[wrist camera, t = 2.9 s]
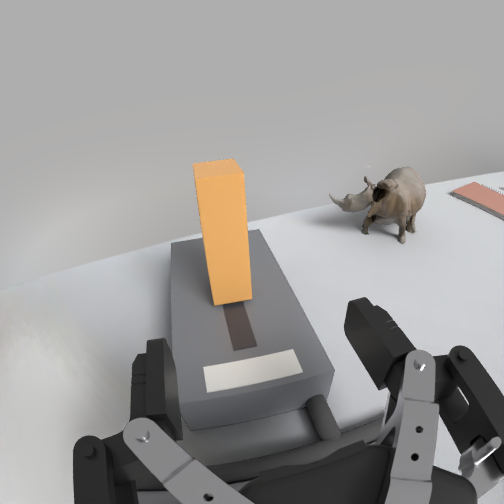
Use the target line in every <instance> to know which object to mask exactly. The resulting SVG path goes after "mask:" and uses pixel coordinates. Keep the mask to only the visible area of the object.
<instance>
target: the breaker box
mask: <svg viewBox="0 0 504 504" xmlns="http://www.w3.org/2000/svg"><path fill="white" fill-rule="evenodd" d="M248 242H249V257H250V272H251V287H252V299H249V300H244V301H238V302H233V303H227V304H221V305H215V306H214V302H213V296H212V291H211V286H210V280H209V275H208V269H207V262H206V256H205V250H204V243H203V238H199V239H193V240H187V241H181V242H175V243H171V331H172V355H173V359H174V362H175V366H176V372H177V384H178V396H179V407H180V413H181V415H182V417H183V419H184V420H185V422H186V424H187V426H188V428H189V430H198V429H205V428H212V427H218V426H224V425H230V424H235V423H240V422H246V421H250V420H255V419H260V418H264V417H269V416H273V415H277V414H281V413H285V412H289V411H293V410H297V409H300V408H304V407H307V406H306V401H307V400H308V399H309V398H311V397H313V396H315V395H319V394H321V395H324V397H325V399H326V401H327V397H328V394H329V390H330V387H331V383H332V379H333V376H334V372H335V369H334V367H333V365H332V364H331V362H330V360H329V358H328V356H327V354H326V352H325V350H324V348H323V346H322V345H321V343H320V341H319V339H318V337H317V335H316V333H315V331H314V329H313V328H312V326H311V324H310V322H309V320H308V318H307V316H306V314H305V313H304V311H303V309H302V307H301V305H300V303H299V301H298V299H297V298H296V296H295V294H294V292H293V290H292V288H291V286H290V285H289V283H288V281H287V279H286V277H285V275H284V274H283V272H282V270H281V268H280V266H279V264H278V263H277V261H276V259H275V257H274V255H273V253H272V252H271V250H270V248H269V246H268V244H267V242H266V241H265V239H264V237H263V235H262V233H261V232H260V230H259V229H257V230H251V231H248Z"/></svg>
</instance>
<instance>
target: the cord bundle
mask: <svg viewBox="0 0 504 504" xmlns="http://www.w3.org/2000/svg"><path fill="white" fill-rule="evenodd" d="M306 406H307V408H308V411H309V413H310V416H311V418H312V421H313V423H314V425H315V428H316V430H317V433H318V435H319V437H320V440H321V441H319V442H315V443H312V444H309V445H306V446H302V447H299V448H295V449H291V450H288V451H284V452H280V453H276V454H272V455H267V456H263V457H258V458H254V459H249V460H244V461H238V462H233V463H227V464H220V465H213V466H206V468H207V469H209V470H210V471H211V472H212V473H213V474H215V475H216V476H217V477H219V478H220V479H221V480H222V481H224V482H225V483H226V484H228V485H229V486H230V487H232V488H233V489H234V490H236V491H237V492H238V491H239V490H240V489H241V488H242V487H243V486H245V485H246V484H247V483H248V482H250V481H252V480H251V479H255V478H257V477H259V472H260V471H264V470H269V469H273V468H277V467H281V466H285V465H301V464H314V463H317V462H319V461H320V460H322V459H324V458H325V457H327V456H329V455H330V454H332V453H333V452H335V451H336V450H338V449H340V448H342V447H345V446H348V445H350V444H353V443H355V442H358V441H360V440H363V441H364V443H365V445H366V444H369V443H370V444H375V443H376V440H377V437H378V435H379V433H380V430H381V427H382V423H383V418H384V417H383V418H380V419H378V420H376V421H373V422H371V423H368V424H366V425H363V426H361V427H358V428H356V429H353V430H351V431H348V432H345V433H342V434H341V432H340V430H339V428H338V425H337V423H336V421H335V419H334V417H333V415H332V412H331V410H330V408H329V406H328V404H327V402H326V399H325V397H324V395H321V394H319V395H315V396H313V397H311V398H309V399H308V400H307V401H306ZM373 441H375V442H373ZM371 442H373V443H371ZM246 480H250V481H246ZM240 481H245V482H240ZM235 482H239V483H235ZM229 483H233V484H229ZM136 488H137V495H138V501H139V504H182V503H181V502H180V501H179V500H178V499H177V498H176V497H175V496H174V495H173V494H171V493H170V492H169V491H150V490H167V489H166V488H165V487H164V486H163V484H162V483H161V482H160V481H159V479H158V478H157V477H156V476H155V475H154V474H153V473H152V474H149V475H147V476H144V477H141V478H138V479H136Z"/></svg>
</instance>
